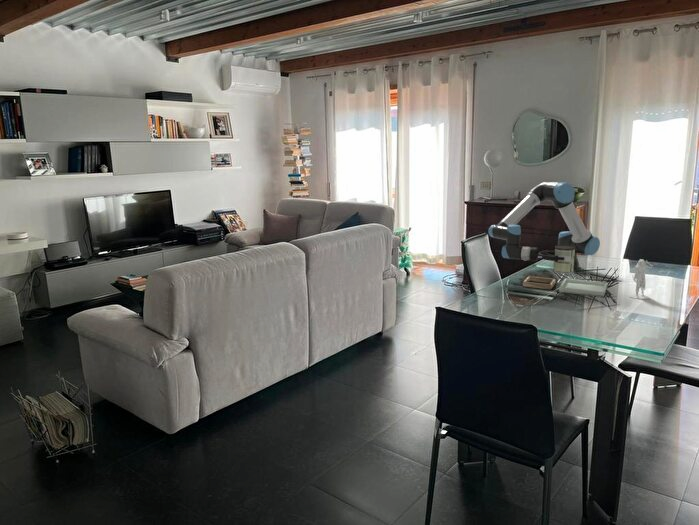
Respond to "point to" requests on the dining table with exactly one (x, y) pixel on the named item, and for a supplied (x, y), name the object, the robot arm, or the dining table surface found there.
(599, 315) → the dining table surface
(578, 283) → the tray
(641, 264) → the female figurine
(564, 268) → the coffee can
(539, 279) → the wooden frame
